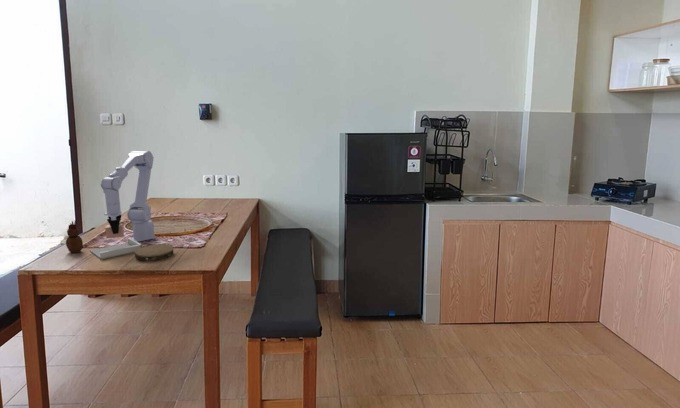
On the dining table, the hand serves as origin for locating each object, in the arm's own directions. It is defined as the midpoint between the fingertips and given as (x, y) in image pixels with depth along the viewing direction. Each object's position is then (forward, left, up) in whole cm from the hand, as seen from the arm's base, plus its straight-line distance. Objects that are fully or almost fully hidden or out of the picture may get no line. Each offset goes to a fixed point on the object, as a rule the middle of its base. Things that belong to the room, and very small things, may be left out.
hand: (116, 232), depth 221 cm
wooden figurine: (+15, -10, -9) cm, 20 cm away
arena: (+1, +2, -8) cm, 9 cm away
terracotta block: (0, 0, -2) cm, 2 cm away
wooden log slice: (-9, +21, -9) cm, 24 cm away
